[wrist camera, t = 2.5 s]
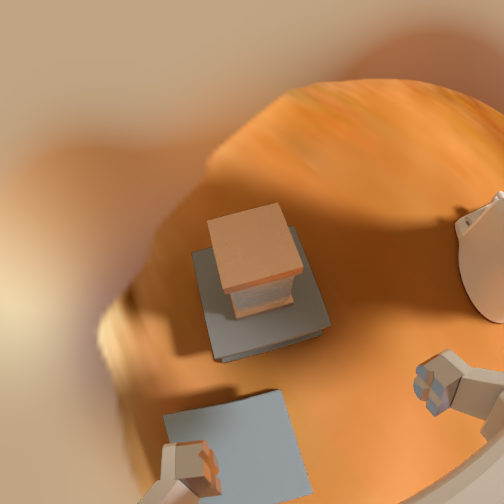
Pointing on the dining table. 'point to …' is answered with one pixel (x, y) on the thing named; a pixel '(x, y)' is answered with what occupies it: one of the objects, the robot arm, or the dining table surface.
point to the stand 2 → (247, 448)
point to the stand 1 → (262, 326)
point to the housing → (255, 259)
